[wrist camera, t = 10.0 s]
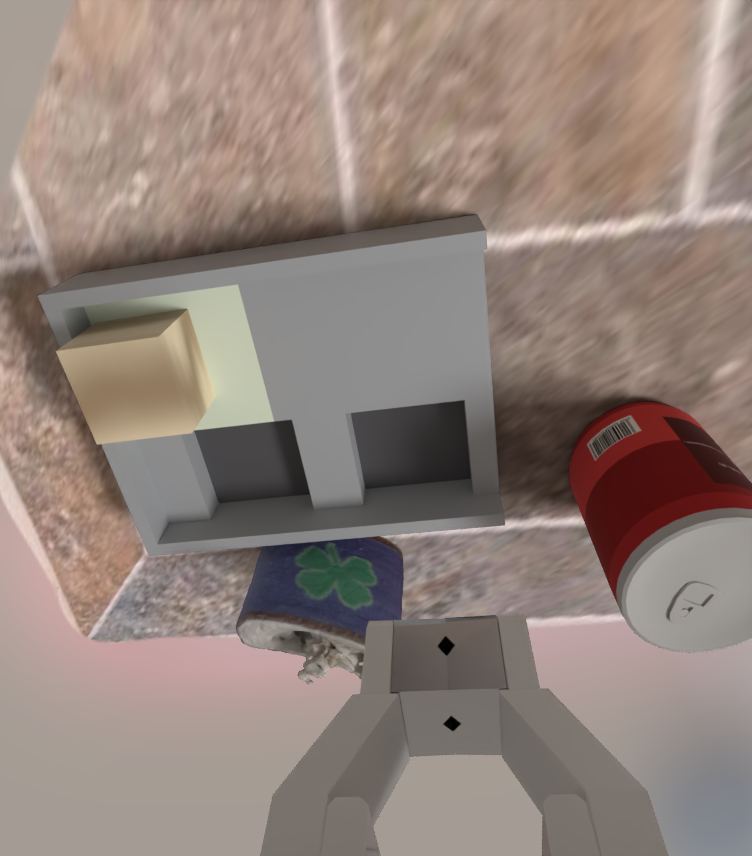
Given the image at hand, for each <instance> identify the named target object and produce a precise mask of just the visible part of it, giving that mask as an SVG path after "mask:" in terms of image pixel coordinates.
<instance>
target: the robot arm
mask: <svg viewBox="0 0 752 856" xmlns="http://www.w3.org/2000/svg"><path fill="white" fill-rule="evenodd" d="M454 754H458V755H459V754H461V755H502V757H503V759H504V761H505V762H506V763H507V764H508V766H509V767H510V769H511V771H512V772H513V773H514V775H515V776H516V778H517V779H518V781H519V782H520V783H521V785H522V786H523V788H524V789H525V791H526V792H527V793H528V795H529V796H530V798H531V799H532V801H533V802H534V804H535V805H536V806H537V808H538V809H539V811H540V812H541V814H542V815H543V818H542V819H543V820H542V856H668V853H667V850H666V846H665V843H664V840H663V837H662V834H661V831H660V828H659V825H658V822H657V819H656V816H655V812H654V809H653V807H652V803H651V800H650V797H649V794H648V791H647V790H646V789H645V788H644V787H643V786H642V785H641V784H640V783H639V782H638V781H637V780H636V779H635V778H634V777H633V776H632V775H631V774H630V773H629V772H628V771H627V770H626V769H625V768H624V767H623V766H622V764H621V763H620V762H619V761H617V759H616V758H615V757H614V756H613V755H612V754H611V753H610V752H609V751H608V750H607V749H606V748H605V747H604V746H603V745H602V744H601V743H600V742H599V741H598V740H597V739H596V738H595V737H594V736H593V734H592V733H590V732H589V730H588V729H587V728H586V727H585V726H584V725H583V724H582V723H581V722H580V721H579V720H578V719H577V718H576V717H575V716H574V715H573V714H572V713H571V712H570V711H569V710H568V709H567V708H566V707H565V706H564V704H563V703H561V701H560V700H559V699H558V698H557V697H556V696H555V695H554V694H553V693H552V692H551V691H550V690H549V689H540V687H539V682H538V677H537V672H536V667H535V662H534V657H533V652H532V647H531V642H530V638H529V632H528V627H527V622H526V618H525V617H524V615H523V614H515V615H497V617H496V615H490V616H473V617H456V618H445V619H413V620H383V621H369V622H368V625H367V628H366V638H365V649H364V659H363V670H362V681H361V692H360V694H356V695H352V696H351V697H350V699H349V700H348V701H347V702H346V704H345V705H344V706H343V707H342V709H341V710H340V712H339V713H338V714H337V715H336V716H335V718H334V719H333V720H332V721H331V723H330V724H329V725H328V726H327V728H326V729H325V730H324V731H323V733H322V734H321V735H320V736H319V738H318V739H317V740H316V741H315V743H314V744H313V745H312V747H311V748H310V749H309V750H308V751H307V753H306V754H305V755H304V756H303V758H302V759H301V760H300V761H299V763H298V764H297V765H296V767H295V768H294V770H292V772H291V773H290V774H289V775H288V777H287V778H286V779H285V780H284V782H283V783H282V784H281V786H280V787H279V788H278V789H277V791H276V792H275V793H274V794H273V796H272V802H271V806H270V811H269V816H268V821H267V826H266V830H265V835H264V840H263V845H262V850H261V854H260V856H380V852H379V848H378V844H377V840H376V835H375V831H374V827H373V825H374V824H375V822H376V820H377V818H378V817H379V815H380V813H381V811H382V809H383V807H384V806H385V804H386V802H387V800H388V799H389V797H390V795H391V793H392V791H393V790H394V788H395V786H396V784H397V782H398V781H399V779H400V777H401V775H402V773H403V772H404V770H405V768H406V766H407V764H408V763H409V761H410V757H413V756H432V755H454Z"/></svg>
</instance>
